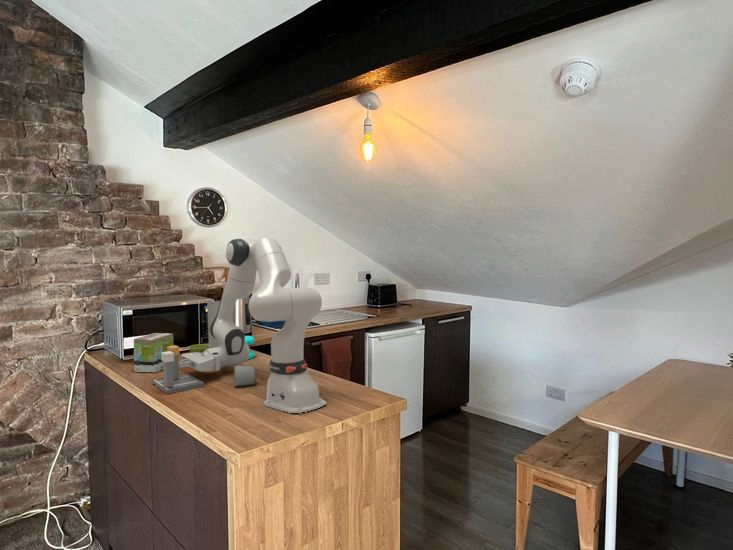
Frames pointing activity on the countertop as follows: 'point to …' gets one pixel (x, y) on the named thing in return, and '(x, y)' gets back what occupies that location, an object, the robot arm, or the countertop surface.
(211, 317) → the cylinder vase
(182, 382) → the plate
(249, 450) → the countertop surface
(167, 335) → the tea box
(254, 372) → the ceramic mug
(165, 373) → the white fader
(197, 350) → the plant pot
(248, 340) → the donuts
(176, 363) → the orange fader
